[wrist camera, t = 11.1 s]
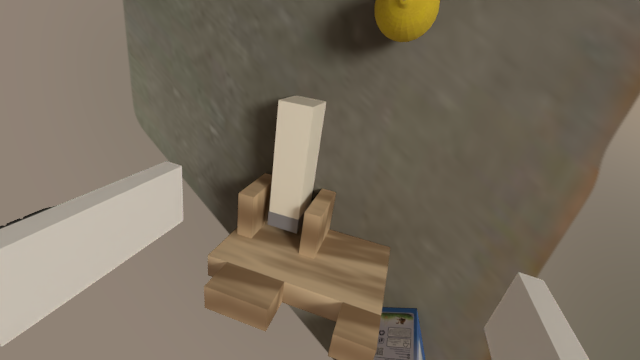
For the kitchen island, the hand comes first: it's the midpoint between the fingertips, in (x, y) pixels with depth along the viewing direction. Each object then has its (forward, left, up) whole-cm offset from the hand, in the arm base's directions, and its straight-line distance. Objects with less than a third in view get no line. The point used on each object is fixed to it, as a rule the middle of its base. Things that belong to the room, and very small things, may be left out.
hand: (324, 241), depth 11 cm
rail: (+7, -9, -26) cm, 28 cm away
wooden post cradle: (+15, -5, -26) cm, 30 cm away
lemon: (-11, 0, -26) cm, 28 cm away
